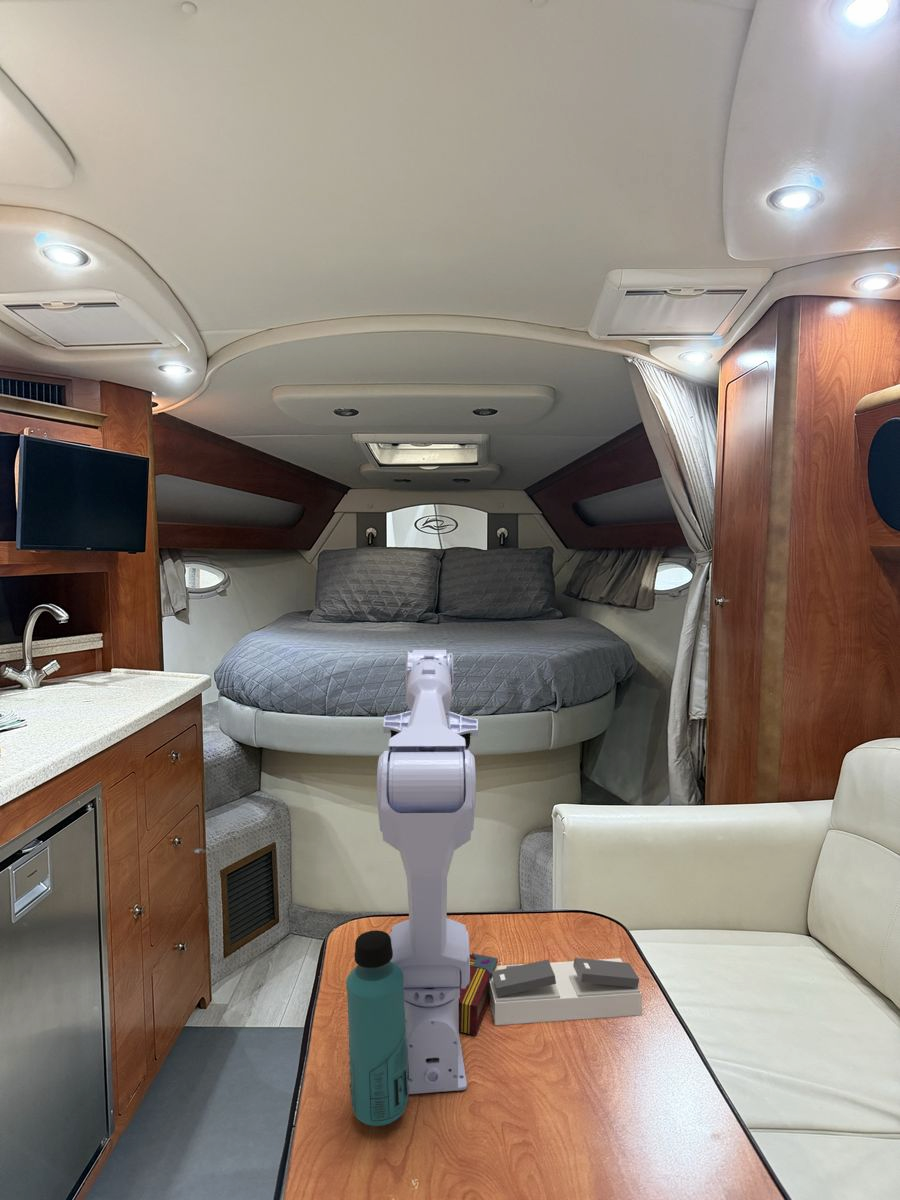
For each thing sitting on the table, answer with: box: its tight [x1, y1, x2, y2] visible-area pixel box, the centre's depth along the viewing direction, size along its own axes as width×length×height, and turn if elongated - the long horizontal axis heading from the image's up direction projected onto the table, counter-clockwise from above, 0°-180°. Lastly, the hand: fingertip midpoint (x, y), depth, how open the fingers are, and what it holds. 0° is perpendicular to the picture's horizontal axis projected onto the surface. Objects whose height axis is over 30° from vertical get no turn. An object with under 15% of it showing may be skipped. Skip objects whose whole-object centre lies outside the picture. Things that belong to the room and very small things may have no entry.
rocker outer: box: [573, 957, 640, 988], centre depth 89 cm, size 4×8×1 cm, turn 96°
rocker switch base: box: [488, 957, 643, 1026], centre depth 91 cm, size 8×20×3 cm, turn 96°
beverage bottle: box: [345, 929, 411, 1127], centre depth 71 cm, size 6×7×20 cm
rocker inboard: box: [492, 958, 556, 997], centre depth 88 cm, size 4×8×1 cm, turn 96°
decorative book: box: [459, 952, 499, 1036], centre depth 91 cm, size 11×16×5 cm
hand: (431, 752), depth 106 cm, fingers open, 7 cm apart
